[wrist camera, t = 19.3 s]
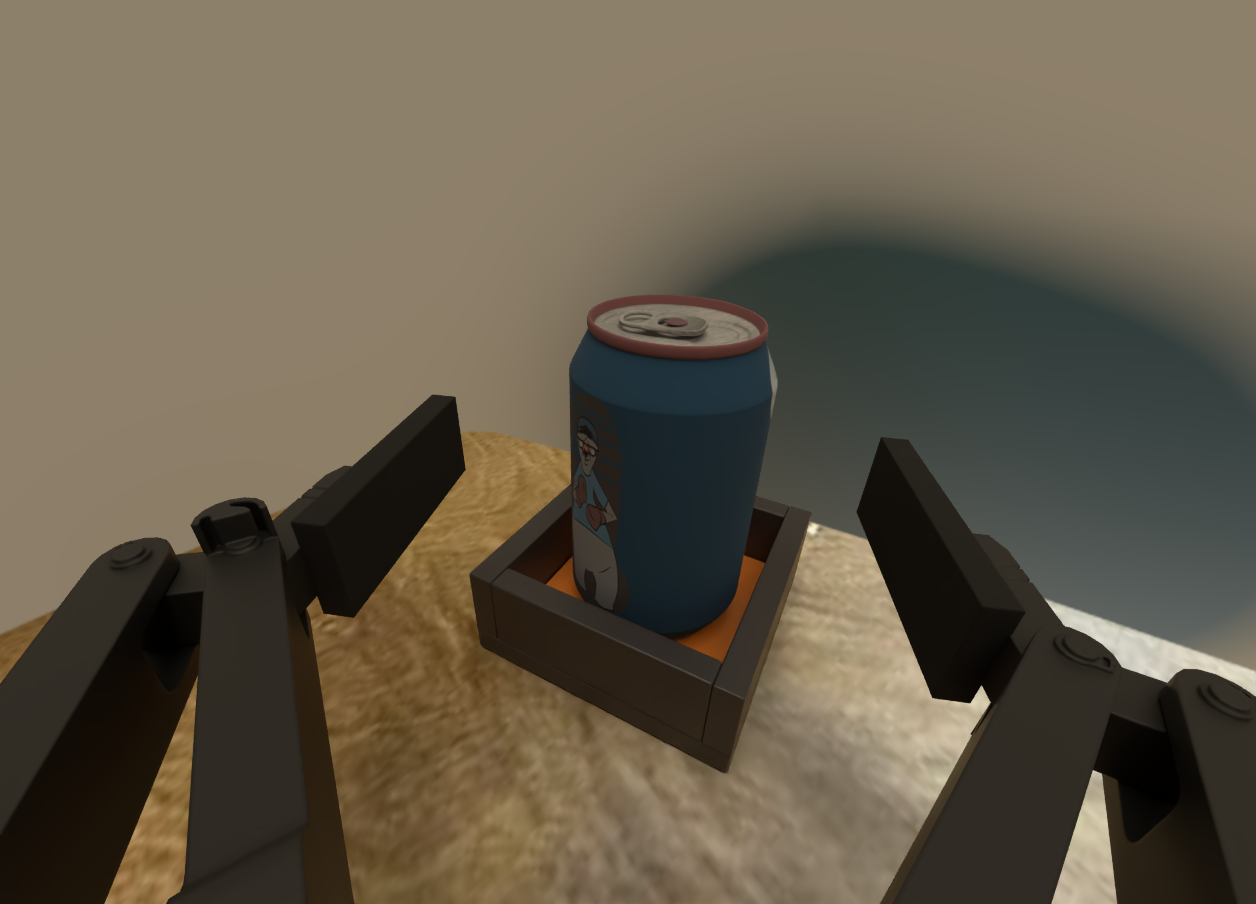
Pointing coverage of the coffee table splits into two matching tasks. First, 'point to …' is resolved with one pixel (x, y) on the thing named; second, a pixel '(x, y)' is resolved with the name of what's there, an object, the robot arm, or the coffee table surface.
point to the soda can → (666, 456)
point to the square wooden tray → (640, 631)
